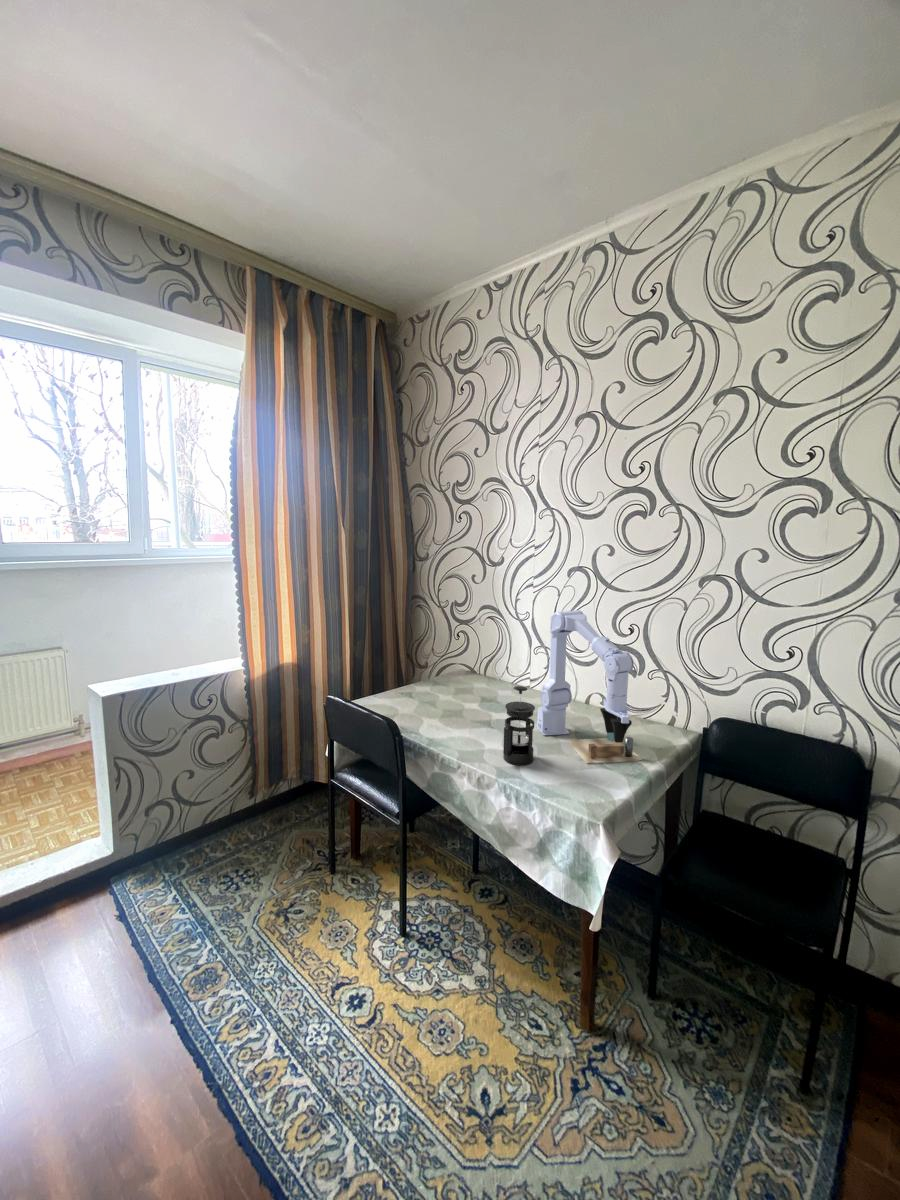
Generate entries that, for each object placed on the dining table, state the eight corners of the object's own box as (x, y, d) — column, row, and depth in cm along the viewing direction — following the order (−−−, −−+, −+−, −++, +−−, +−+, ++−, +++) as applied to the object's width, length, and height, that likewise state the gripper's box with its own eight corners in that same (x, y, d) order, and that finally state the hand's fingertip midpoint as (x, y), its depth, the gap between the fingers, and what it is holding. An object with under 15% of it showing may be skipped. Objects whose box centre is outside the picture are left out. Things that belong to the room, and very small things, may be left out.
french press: (517, 748, 159) (519, 679, 156) (541, 758, 152) (543, 687, 149) (493, 759, 151) (495, 688, 148) (517, 770, 144) (519, 696, 141)
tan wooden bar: (620, 752, 154) (621, 741, 154) (623, 755, 152) (624, 744, 152) (588, 754, 153) (588, 743, 152) (590, 757, 151) (591, 746, 150)
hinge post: (626, 758, 152) (627, 740, 151) (622, 754, 155) (623, 737, 154) (633, 758, 153) (634, 739, 152) (629, 754, 155) (630, 736, 154)
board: (586, 764, 149) (586, 762, 149) (566, 741, 164) (566, 740, 164) (642, 760, 151) (642, 759, 151) (617, 738, 167) (617, 737, 167)
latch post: (610, 742, 164) (610, 729, 163) (606, 739, 166) (607, 727, 165) (615, 741, 164) (615, 728, 164) (611, 739, 166) (612, 726, 166)
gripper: (641, 701, 137) (637, 747, 139) (620, 685, 151) (617, 726, 153) (616, 702, 136) (613, 748, 138) (597, 685, 151) (595, 727, 153)
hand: (614, 737), depth 146 cm, fingers open, 6 cm apart
